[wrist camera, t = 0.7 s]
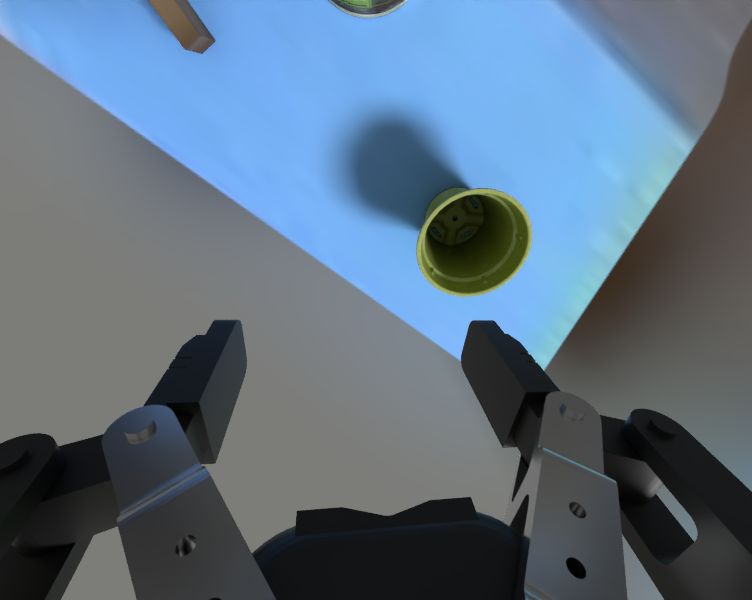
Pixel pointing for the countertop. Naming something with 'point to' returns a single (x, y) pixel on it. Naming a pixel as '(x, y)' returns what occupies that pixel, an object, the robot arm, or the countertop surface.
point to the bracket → (184, 24)
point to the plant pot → (473, 241)
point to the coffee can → (367, 7)
